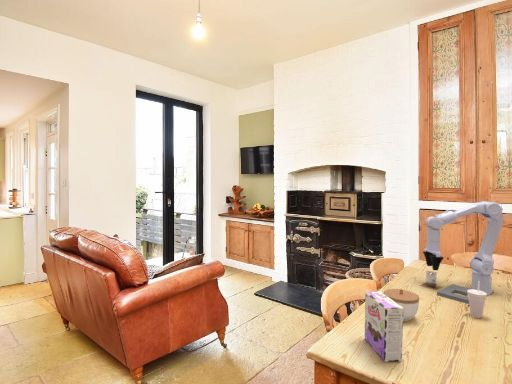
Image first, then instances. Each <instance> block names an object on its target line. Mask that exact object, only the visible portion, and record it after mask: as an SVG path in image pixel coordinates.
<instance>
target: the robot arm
mask: <svg viewBox="0 0 512 384" xmlns="http://www.w3.org/2000/svg"><path fill="white" fill-rule="evenodd" d="M475 213H476V214H477V213H478V214H480V215H481V216H483V217H484V218H485V219H486V220H487V222H488V223H487V226H486V228H485V231H484V235H483V238H482V241H481V244H480V247H479V249H478V252H477V253H475V254H474V256H473V257H472V259H470V261H469V266H470V267H469V268H471V269H472V270H471V289H475V290H478V281H480V287H479V290H480V291H483V292H486V294H487V296H489V295H491V294H492V293H493V292H495V291H494V289H492V281H493V279H492V276H491V275H492V274H493V272H494V271H495V270H494V269H495V267H494V263H495V261H494V259H493V254H494V252H495V248H496V246H497V242H498V240H499V236H500V233H501V231H502V228H503V225H504V222H505V221H504V216H503V208H502V206H501V205H500V204H499V203H498V202H495V201H485V200H482V201H479V202H474V203H471V204H470V205H467V206H464V207H462V208H460V209H457V210H455V211H453V210H447V209H446V210H445V211H444V212H441V213H440V214H437V213H436V214H435V215H434V216H429V217H427V218H426V220H425V221H424V225H425V226H426V245H425V248H423V251H422V253H423V256H424V258H425V262H426V267H431V268H432V270H433V271H439V268H440V265H441V262H442V261H443V259H444V256H442V252H441V250H440V246H441V244H440V243H441V241H440V240H441V228H442V227H444V226H446V225H449V224H452V223H455V222H457V221H458V219H459V218H462V217H465V216H468V215H471V214H475Z"/></svg>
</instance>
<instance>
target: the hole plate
mask: <svg viewBox="0 0 512 384" xmlns="http://www.w3.org/2000/svg"><path fill="white" fill-rule="evenodd" d="M470 289H472V287H470V288H469V287H466V286H462V285H458V284H453V283H452V284H450V285H447V286H446V287H443V288H442V289H439V290H437V292H436V296H439V297H442V298H446V299H449V300H452V301H453V300H454V301H456V302H461V303H465V304H467V307H470V306H469V298H468V293H467V290H470ZM473 290H475V289H473ZM485 293H487V292H485Z"/></svg>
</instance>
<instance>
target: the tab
mask: <svg viewBox="0 0 512 384" xmlns="http://www.w3.org/2000/svg"><path fill="white" fill-rule="evenodd" d="M418 286H419V287H422V288H427V289H431V290H434V291H439V290H441V288H442V289H443V286H442V285H438V284H436V287H435V288H432V287H427V286H426V282H423V283H422V284H420V285H418Z"/></svg>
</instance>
